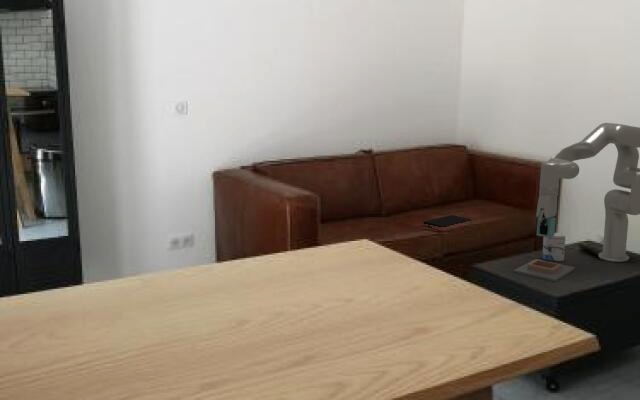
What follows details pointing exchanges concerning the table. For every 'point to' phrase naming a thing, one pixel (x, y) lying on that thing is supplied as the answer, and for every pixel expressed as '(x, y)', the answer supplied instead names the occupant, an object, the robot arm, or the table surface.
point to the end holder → (544, 270)
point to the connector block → (550, 227)
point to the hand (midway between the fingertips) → (545, 232)
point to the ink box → (554, 247)
